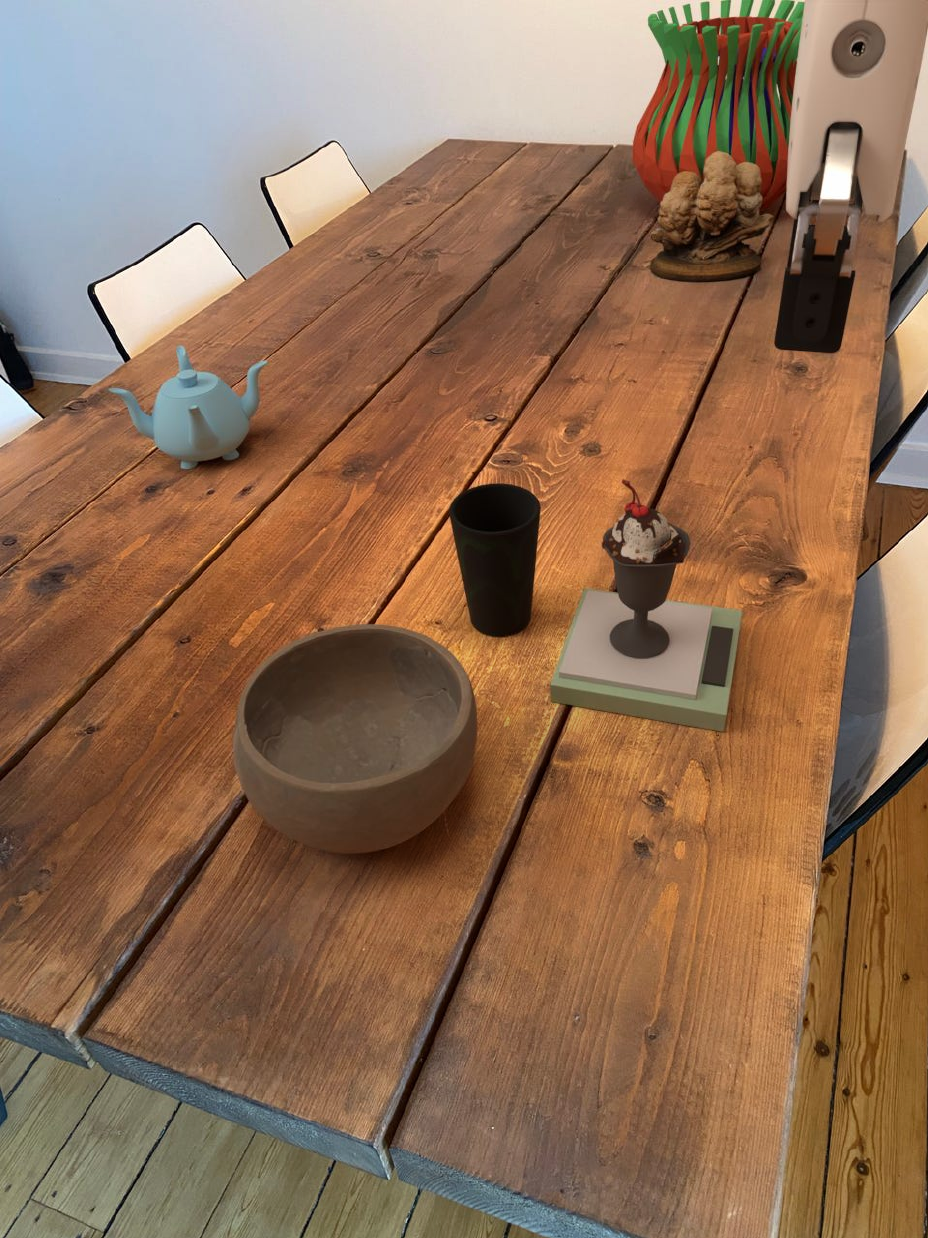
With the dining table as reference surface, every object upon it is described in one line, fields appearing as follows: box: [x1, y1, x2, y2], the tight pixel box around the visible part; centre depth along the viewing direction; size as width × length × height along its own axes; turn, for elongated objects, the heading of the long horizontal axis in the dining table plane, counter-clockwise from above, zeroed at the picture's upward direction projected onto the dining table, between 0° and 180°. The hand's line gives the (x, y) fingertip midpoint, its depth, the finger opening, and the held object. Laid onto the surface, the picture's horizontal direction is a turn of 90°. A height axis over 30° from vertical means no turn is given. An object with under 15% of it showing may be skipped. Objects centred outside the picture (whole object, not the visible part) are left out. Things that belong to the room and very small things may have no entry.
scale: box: [549, 587, 743, 733], centre depth 80 cm, size 14×13×3 cm
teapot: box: [108, 345, 268, 470], centre depth 111 cm, size 13×13×10 cm
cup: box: [448, 482, 542, 638], centre depth 83 cm, size 8×8×12 cm
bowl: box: [232, 623, 478, 855], centre depth 69 cm, size 17×18×10 cm
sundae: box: [601, 478, 691, 658], centre depth 74 cm, size 7×7×15 cm
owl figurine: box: [649, 151, 774, 282], centre depth 143 cm, size 18×12×17 cm, turn 88°
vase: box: [632, 0, 805, 213], centre depth 160 cm, size 30×30×30 cm
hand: (810, 310), depth 52 cm, fingers open, 9 cm apart
